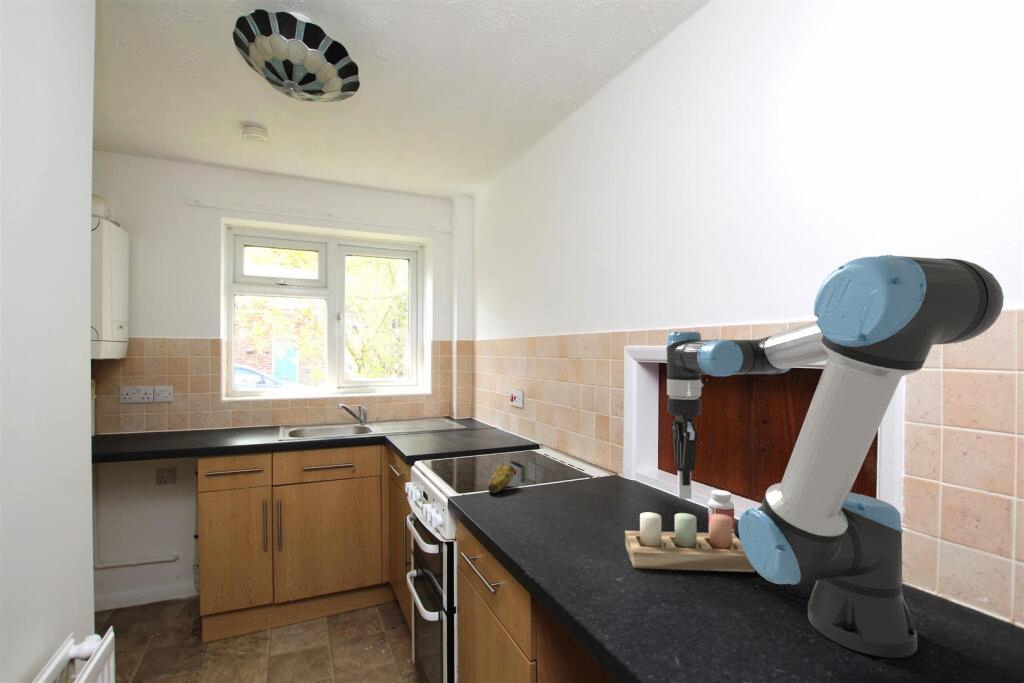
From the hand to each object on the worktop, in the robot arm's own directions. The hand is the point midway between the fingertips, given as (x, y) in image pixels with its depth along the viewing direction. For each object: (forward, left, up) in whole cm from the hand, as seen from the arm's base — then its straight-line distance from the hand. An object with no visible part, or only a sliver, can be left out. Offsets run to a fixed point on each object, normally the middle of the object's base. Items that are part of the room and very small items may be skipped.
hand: (684, 497), depth 109 cm
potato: (+48, +49, -14) cm, 70 cm away
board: (0, 0, -14) cm, 14 cm away
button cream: (0, +8, -10) cm, 13 cm away
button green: (0, 0, -10) cm, 10 cm away
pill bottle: (+14, -13, -14) cm, 24 cm away
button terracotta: (0, -8, -10) cm, 13 cm away
